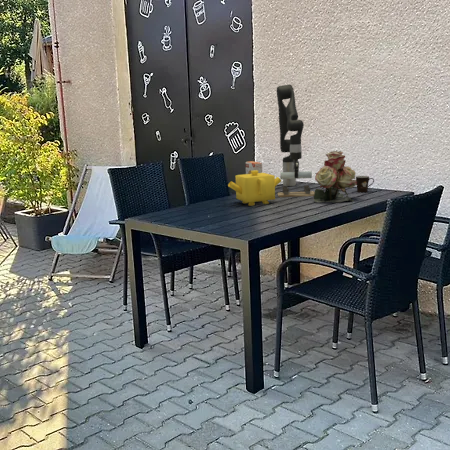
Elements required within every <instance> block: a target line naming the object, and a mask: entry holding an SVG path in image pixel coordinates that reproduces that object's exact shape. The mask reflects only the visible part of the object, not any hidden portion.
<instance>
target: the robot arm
mask: <svg viewBox="0 0 450 450" xmlns="http://www.w3.org/2000/svg"><path fill="white" fill-rule="evenodd" d="M276 98H277V105H278V123H279V126H278V127H279V141H280V142H279V145H280V146H279V147H280V152H281V153H289V155H287V156H285V157H282V172H295V178H298V172H300V171H299V170H300V161H299V160H301V159H302V157H303V156H302V151H303V150H302V149H303V148H302V136H303V135H302V134H303V130H304V126H305V125H304V121H303V120H301V119H299V114H298V110H297V106H296V97H295V91H294V87H293V86H292V84H284V85H278V86H277V87H276ZM283 100H284V101H285V100H288V104H287V106H286V105H285V103H284V102H283ZM288 132H296V133H295V134H292V135H290V137H289V138H288V139H286V136H287V134H288ZM296 180H297V179H282V185H283V186H282V187H295V186H297V183H296V182H297V181H296Z"/></svg>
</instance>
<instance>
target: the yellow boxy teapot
mask: <svg viewBox="0 0 450 450" xmlns="http://www.w3.org/2000/svg"><path fill="white" fill-rule="evenodd" d="M251 173H252V174H246V173H243V174H237V175H235V182H233V181H230V182H229V183H228V184H227V186H228V188H230V189H232V190H234V191H235V193H236V194H235V195H236V196H235V198H236V200H238V201H241V203H242V204H248V205H247V206H255V204H256V202H258V203H262V205H269V204H270V202H269V201H273V200H276V187H277V185H279V184H280V183H281V182H282V179H281V178H279V176H277V177H275V176H276V175H273V174H270V173H267V172H262V173H258V171H257V170H253V171H251Z"/></svg>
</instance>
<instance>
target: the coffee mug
mask: <svg viewBox="0 0 450 450" xmlns="http://www.w3.org/2000/svg"><path fill="white" fill-rule="evenodd" d="M371 179H372V182H371V183H370V184H369V181H370V180H371ZM355 180H356V182H357V183H356V184H357V185H356V191H357V192H356V193H360V192H361V193H362V194H363V192H365V193H368V189H369V187H371V186H372V185H373V184H374V182H375V179H374V178H373V177H370V176H367V175H355Z"/></svg>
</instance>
